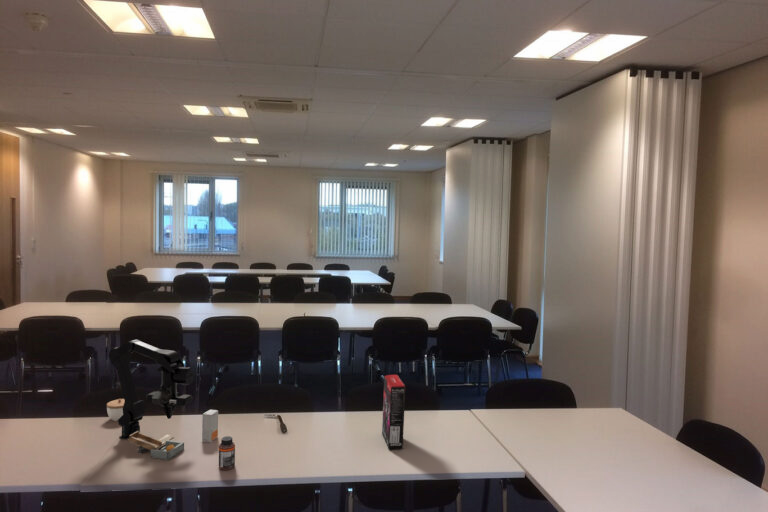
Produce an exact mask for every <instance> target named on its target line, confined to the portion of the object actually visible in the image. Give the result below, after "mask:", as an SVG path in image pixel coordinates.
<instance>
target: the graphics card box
mask: <svg viewBox="0 0 768 512" xmlns="http://www.w3.org/2000/svg"><path fill="white" fill-rule="evenodd" d="M383 379H384V381H383V399H382V401H383V403H382V404H383V405H382V424H381V425H382V427H381V436H382V437H383V439H384V442H385V444H386V447H387V449H388V450H397V449H403V448H404V430H405V429H404V426H405V406H406V405H405V404H406V403H405V402H406V399H405V398H406V385H405V383H404V382H403V380H402V379H401V378H400V377H399V375H398V374H387V375H384V378H383Z"/></svg>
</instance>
